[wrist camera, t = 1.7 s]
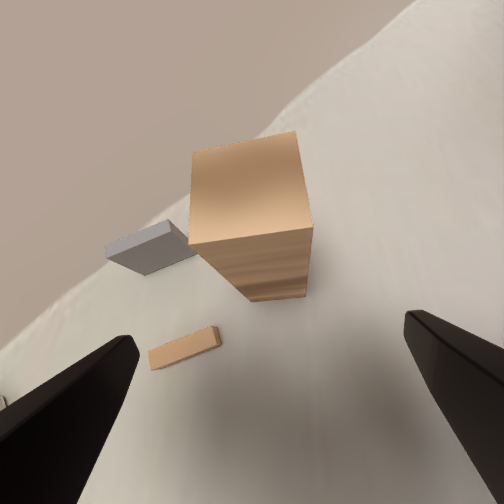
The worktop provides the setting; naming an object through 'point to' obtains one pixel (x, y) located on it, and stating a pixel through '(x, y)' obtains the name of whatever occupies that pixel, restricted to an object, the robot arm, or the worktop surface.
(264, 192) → the cabinet block
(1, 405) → the container
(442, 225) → the worktop surface
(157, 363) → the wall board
